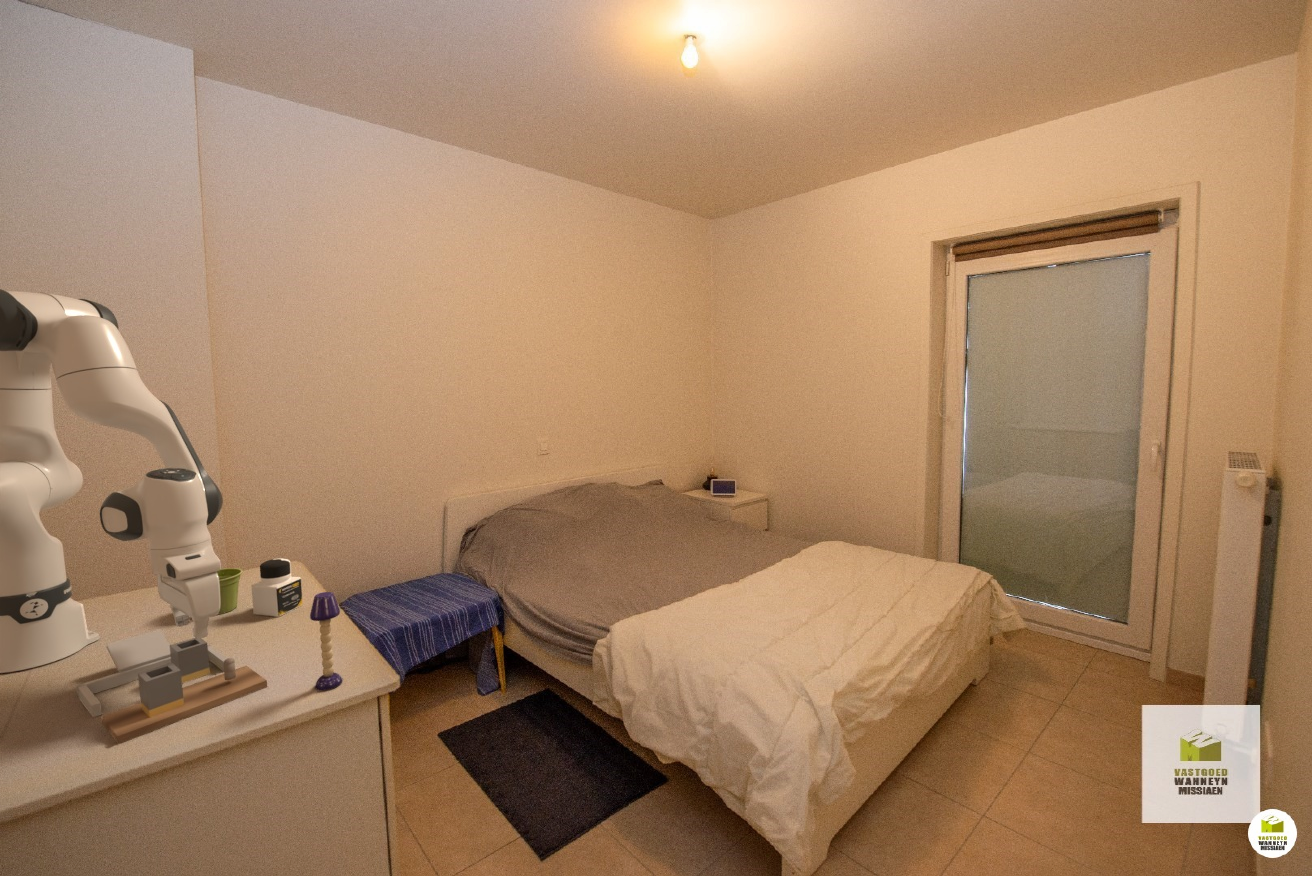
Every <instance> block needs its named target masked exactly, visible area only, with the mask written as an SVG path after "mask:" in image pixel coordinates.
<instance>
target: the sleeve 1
mask: <svg viewBox="0 0 1312 876" xmlns="http://www.w3.org/2000/svg"><path fill="white" fill-rule="evenodd" d="M137 680H138V689H139V696H140V697H139V698H140V703H141V708H142V710H143V711H144V712H145V713H146V714H147V715H148V716H149V717H153V716H155V715H158V714H161V713H163V712H166V711H169V710H172V709H174V708H177V707H180V706H182V705H184V699H183V689H182V688H183V683H182V678H181V670H180V669H179V668H178V667H176V666H175V665H174V664H173V663H169V664H166V665H163V666H160V667H157V668H153V669H150V670H147V671H144V672H141V673H138V679H137Z"/></svg>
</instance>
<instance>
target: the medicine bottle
mask: <svg viewBox="0 0 1312 876" xmlns="http://www.w3.org/2000/svg"><path fill="white" fill-rule="evenodd" d="M291 564H292V563H291V561H290V559H288V558H287V559H286V558H273V559H269V560H266V561H264V562H262V563H260V565H259V573H260V574H259V575H260V576H259V577H260V581H258V582H256V583H254V584H251V597H252V598H251V599H252V611H253V615H257V616H267V617H276V618H277V617H282V616H283V615H285V614H288V613H290V612H292V611H294V610H296V609H299V608H300V607H302V606H303V590H302V578H301V577H300V576H292V565H291Z"/></svg>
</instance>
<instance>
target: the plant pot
mask: <svg viewBox="0 0 1312 876" xmlns="http://www.w3.org/2000/svg"><path fill="white" fill-rule="evenodd" d="M216 572H217V574H218V577H219V583H220V610H219V613H218V614H217V615H222V614H225V613H228V612H231V611H233V610H235V609H236V608H237V607H238V597H239V585H240V584H239V582H240V579H241V575H243V574H242V573H243V570H242V568H236V567H228V568H221V570H219V571H216Z"/></svg>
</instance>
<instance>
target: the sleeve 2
mask: <svg viewBox="0 0 1312 876" xmlns="http://www.w3.org/2000/svg"><path fill="white" fill-rule="evenodd" d="M207 645H208V642H207V641H205V640H204V638H201V639H197V638H195V637H193V638H189V639H186V640H183V641H179V642H176V643H173V644H170V655H171V663H173V664H174V665H175V666H176V667H178V668H179V669H180V670H181V678H182V684H184V683H186V682H189V681H192V680H196V679H198V678H201V677H204V676H208V675H210V674H211V671H210V660H209V658H208V646H207Z"/></svg>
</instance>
